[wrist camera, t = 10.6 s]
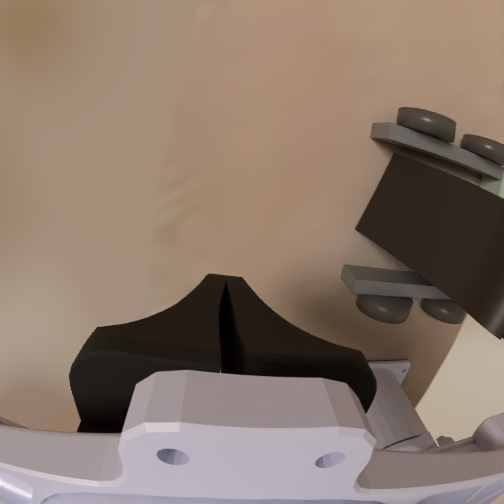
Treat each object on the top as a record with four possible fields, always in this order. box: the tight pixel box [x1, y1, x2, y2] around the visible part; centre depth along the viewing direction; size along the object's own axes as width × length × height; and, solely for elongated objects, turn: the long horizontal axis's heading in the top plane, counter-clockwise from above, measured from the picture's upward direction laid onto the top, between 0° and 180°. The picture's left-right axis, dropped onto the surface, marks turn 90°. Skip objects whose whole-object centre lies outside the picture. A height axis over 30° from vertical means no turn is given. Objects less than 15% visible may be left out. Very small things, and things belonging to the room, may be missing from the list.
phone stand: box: [355, 153, 504, 339], centre depth 16 cm, size 9×6×12 cm, turn 64°
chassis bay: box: [341, 107, 504, 324], centre depth 19 cm, size 14×12×4 cm
